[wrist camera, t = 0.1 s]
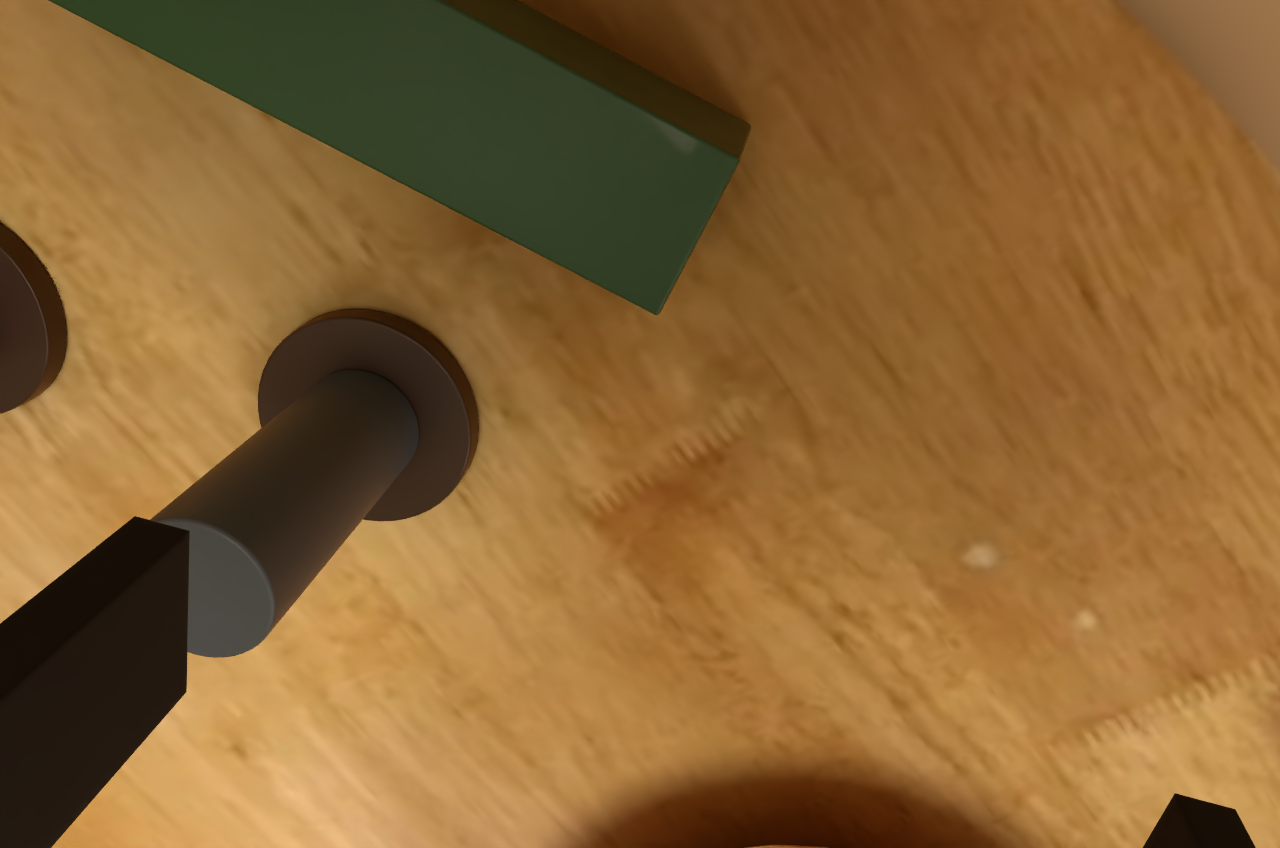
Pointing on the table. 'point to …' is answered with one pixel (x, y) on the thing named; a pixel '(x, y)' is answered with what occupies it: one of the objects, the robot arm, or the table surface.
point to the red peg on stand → (27, 325)
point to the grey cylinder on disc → (320, 468)
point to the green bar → (473, 117)
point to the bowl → (784, 846)
